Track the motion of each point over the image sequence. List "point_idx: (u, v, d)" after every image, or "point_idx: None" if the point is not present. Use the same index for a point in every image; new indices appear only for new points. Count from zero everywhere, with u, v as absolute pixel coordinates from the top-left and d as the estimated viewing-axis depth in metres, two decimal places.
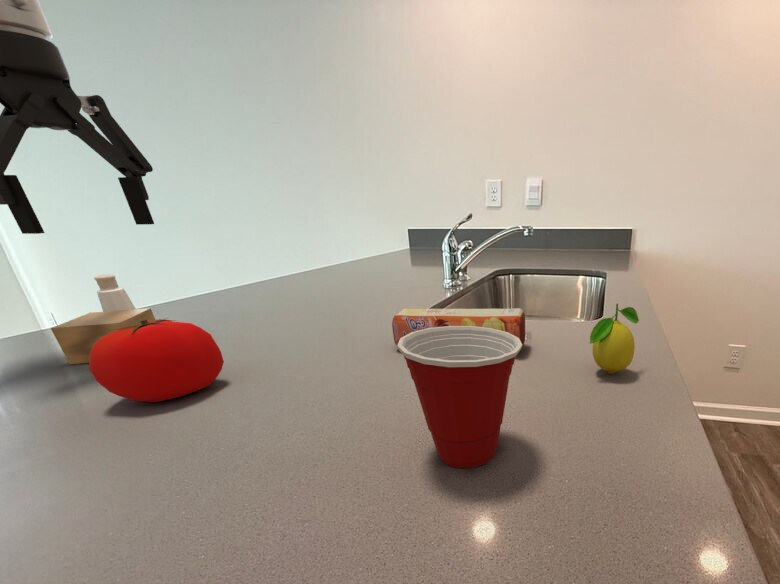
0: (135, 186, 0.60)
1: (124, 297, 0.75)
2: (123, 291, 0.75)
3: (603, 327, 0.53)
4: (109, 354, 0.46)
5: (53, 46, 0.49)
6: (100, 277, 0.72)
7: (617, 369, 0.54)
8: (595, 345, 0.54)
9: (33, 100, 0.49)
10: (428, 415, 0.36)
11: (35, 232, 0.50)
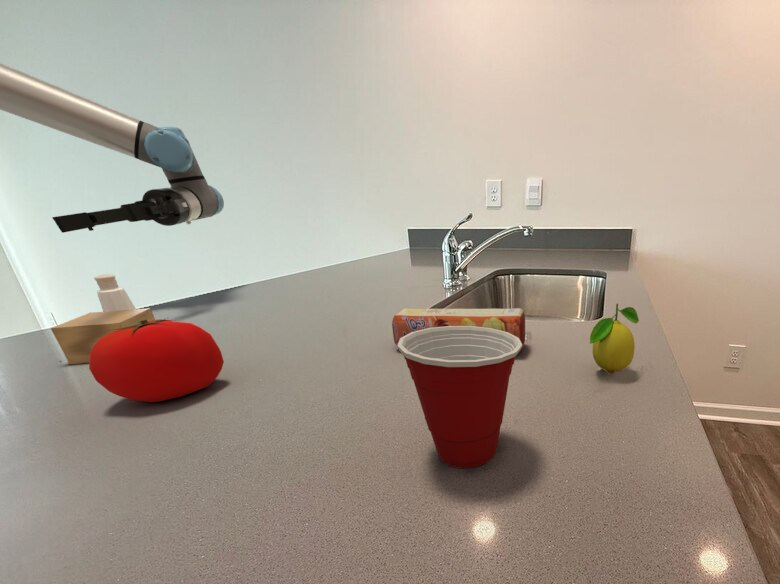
0: (89, 227, 0.80)
1: (124, 297, 0.75)
2: (123, 291, 0.75)
3: (603, 327, 0.53)
4: (109, 354, 0.46)
5: None
6: (100, 277, 0.72)
7: (617, 369, 0.54)
8: (595, 345, 0.54)
9: (164, 218, 0.88)
10: (428, 415, 0.36)
11: (137, 219, 0.75)
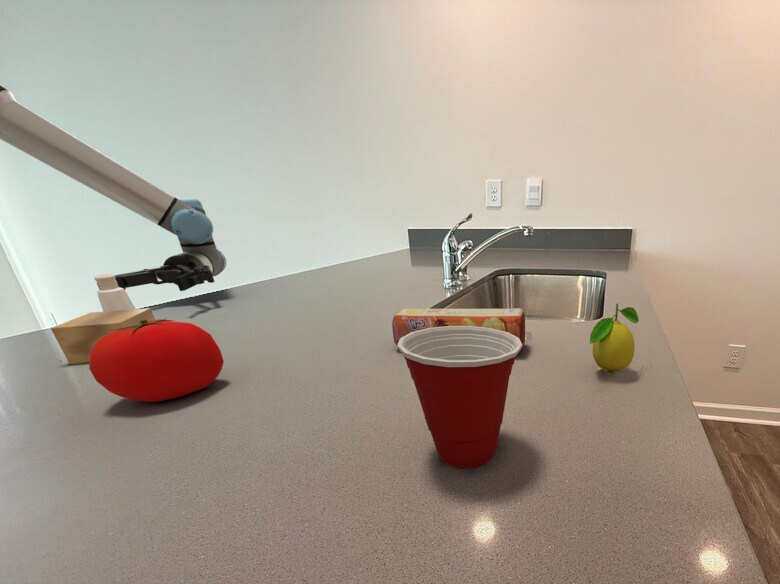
0: None
1: (124, 297, 0.75)
2: (123, 291, 0.75)
3: (603, 327, 0.53)
4: (109, 354, 0.46)
5: None
6: (100, 277, 0.72)
7: (617, 369, 0.54)
8: (595, 345, 0.54)
9: None
10: (428, 415, 0.36)
11: (184, 289, 0.85)
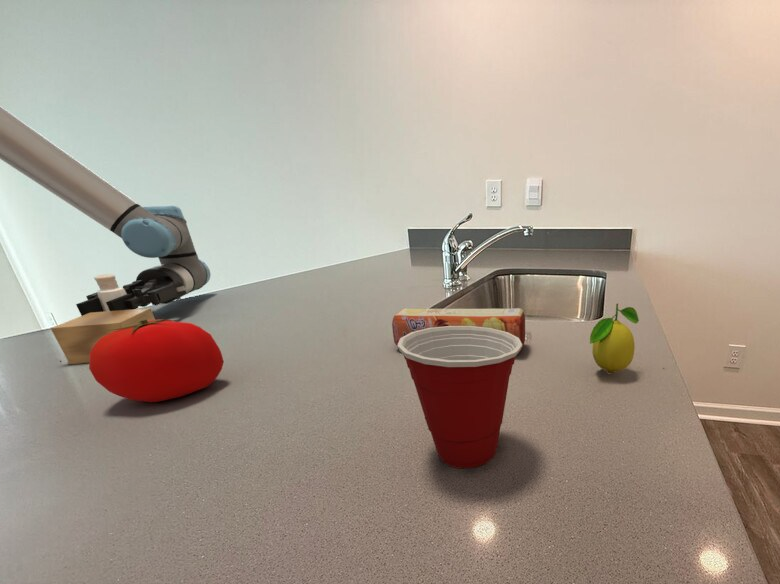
0: None
1: None
2: (123, 291, 0.75)
3: (603, 327, 0.53)
4: (109, 354, 0.46)
5: None
6: (100, 277, 0.72)
7: (617, 369, 0.54)
8: (595, 345, 0.54)
9: None
10: (428, 415, 0.36)
11: None
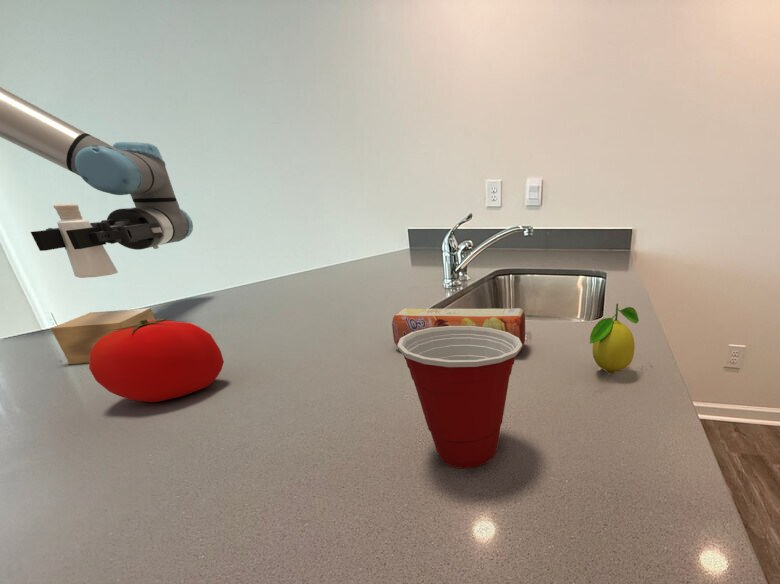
0: None
1: None
2: (88, 224, 0.66)
3: (603, 327, 0.53)
4: (109, 354, 0.46)
5: None
6: (60, 205, 0.63)
7: (617, 369, 0.54)
8: (595, 345, 0.54)
9: (134, 241, 0.77)
10: (428, 415, 0.36)
11: (80, 247, 0.63)
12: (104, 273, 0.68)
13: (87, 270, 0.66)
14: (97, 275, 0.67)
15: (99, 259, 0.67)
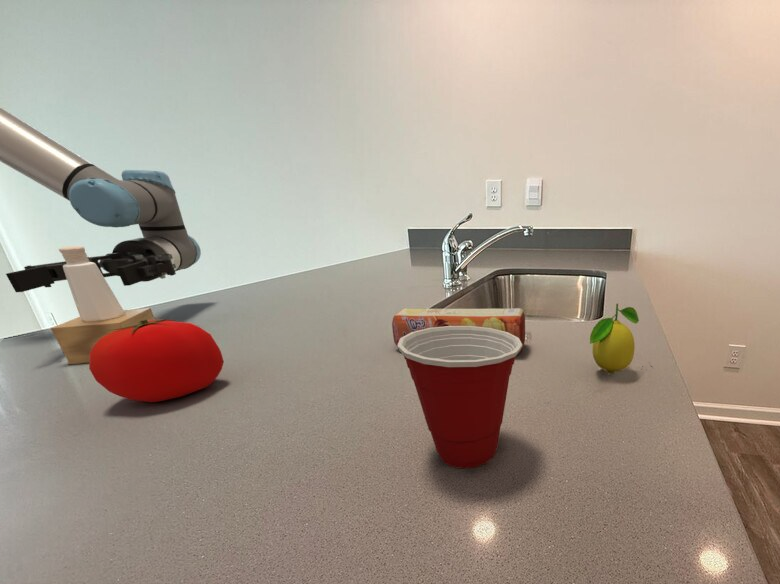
0: (48, 284, 0.64)
1: (95, 273, 0.63)
2: (94, 266, 0.63)
3: (603, 327, 0.53)
4: (109, 354, 0.46)
5: None
6: (66, 248, 0.61)
7: (617, 369, 0.54)
8: (595, 345, 0.54)
9: None
10: (428, 415, 0.36)
11: (129, 283, 0.63)
12: (111, 316, 0.65)
13: (93, 314, 0.64)
14: (104, 319, 0.65)
15: (106, 302, 0.65)
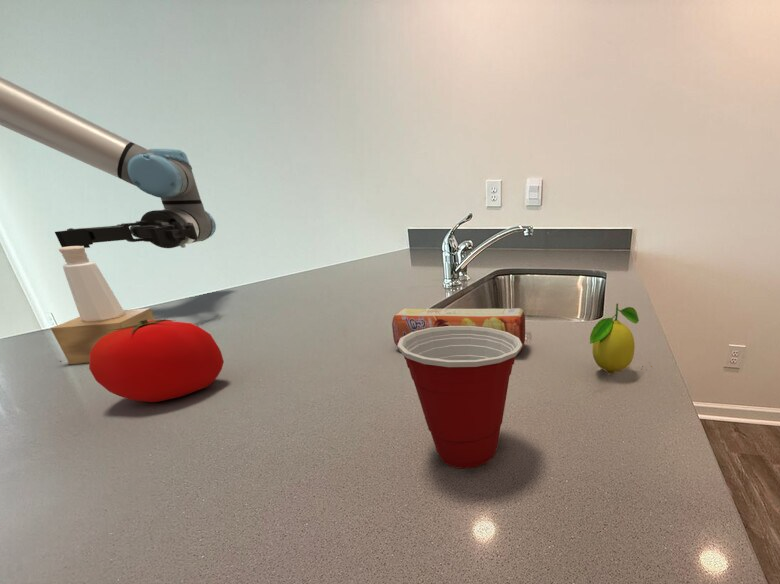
0: (87, 244, 0.74)
1: (95, 273, 0.63)
2: (94, 266, 0.63)
3: (603, 327, 0.53)
4: (109, 354, 0.46)
5: None
6: (66, 248, 0.61)
7: (617, 369, 0.54)
8: (595, 345, 0.54)
9: None
10: (428, 415, 0.36)
11: (160, 243, 0.72)
12: (111, 316, 0.65)
13: (93, 314, 0.64)
14: (104, 319, 0.65)
15: (106, 302, 0.65)
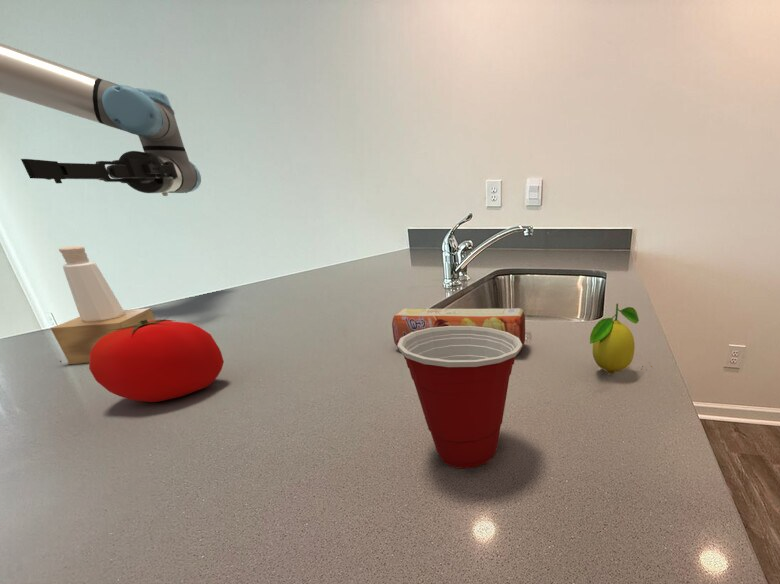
0: (59, 178, 0.69)
1: (95, 273, 0.63)
2: (94, 266, 0.63)
3: (603, 327, 0.53)
4: (109, 354, 0.46)
5: None
6: (66, 248, 0.61)
7: (617, 369, 0.54)
8: (595, 345, 0.54)
9: (146, 182, 0.79)
10: (428, 415, 0.36)
11: (135, 175, 0.67)
12: (111, 316, 0.65)
13: (93, 314, 0.64)
14: (104, 319, 0.65)
15: (106, 302, 0.65)
